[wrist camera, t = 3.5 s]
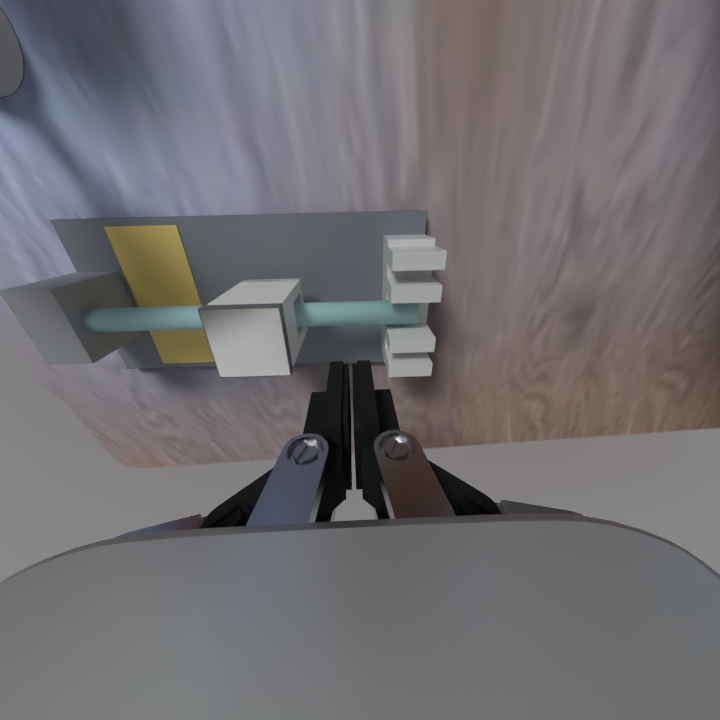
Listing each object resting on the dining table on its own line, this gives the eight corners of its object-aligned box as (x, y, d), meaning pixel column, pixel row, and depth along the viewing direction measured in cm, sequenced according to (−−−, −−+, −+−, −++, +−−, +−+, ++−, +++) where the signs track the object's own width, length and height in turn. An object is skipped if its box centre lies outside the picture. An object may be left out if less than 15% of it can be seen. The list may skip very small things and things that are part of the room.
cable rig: (424, 210, 20) (452, 211, 14) (412, 356, 25) (428, 397, 20) (61, 219, 19) (-55, 224, 14) (133, 364, 25) (72, 408, 20)
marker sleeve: (301, 277, 19) (279, 306, 14) (307, 330, 21) (291, 375, 16) (243, 279, 19) (197, 309, 14) (255, 332, 21) (219, 377, 16)
